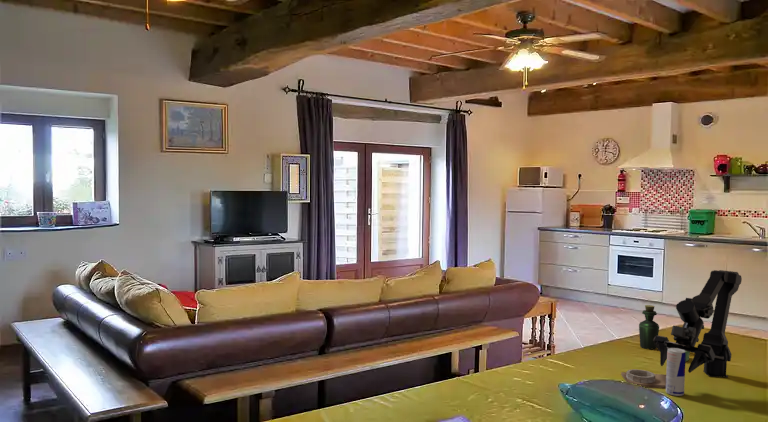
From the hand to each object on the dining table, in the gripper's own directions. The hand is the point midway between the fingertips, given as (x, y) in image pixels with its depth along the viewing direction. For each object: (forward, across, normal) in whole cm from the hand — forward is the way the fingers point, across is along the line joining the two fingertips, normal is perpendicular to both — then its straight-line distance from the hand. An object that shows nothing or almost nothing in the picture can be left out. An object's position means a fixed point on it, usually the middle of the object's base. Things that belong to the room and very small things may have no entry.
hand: (674, 368), depth 210 cm
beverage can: (+6, 0, +7) cm, 9 cm away
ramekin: (-25, -18, +38) cm, 49 cm away
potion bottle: (-31, -34, +43) cm, 63 cm away
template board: (+2, -12, +11) cm, 16 cm away
